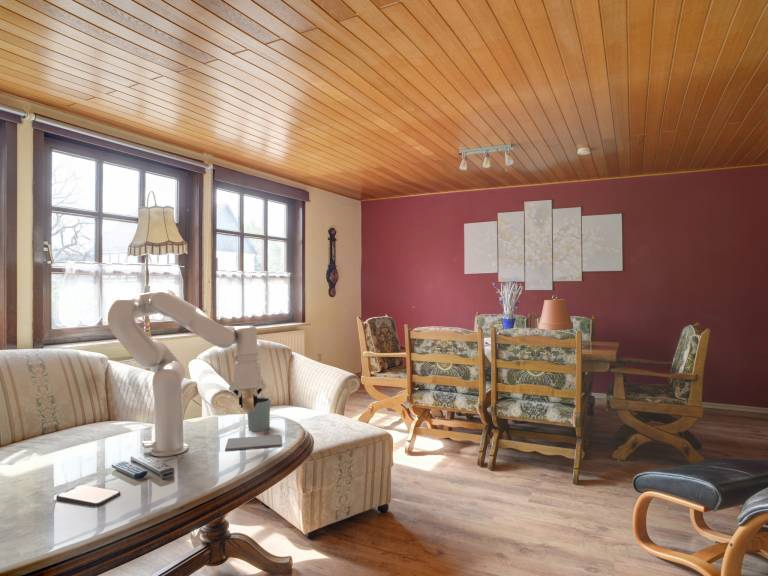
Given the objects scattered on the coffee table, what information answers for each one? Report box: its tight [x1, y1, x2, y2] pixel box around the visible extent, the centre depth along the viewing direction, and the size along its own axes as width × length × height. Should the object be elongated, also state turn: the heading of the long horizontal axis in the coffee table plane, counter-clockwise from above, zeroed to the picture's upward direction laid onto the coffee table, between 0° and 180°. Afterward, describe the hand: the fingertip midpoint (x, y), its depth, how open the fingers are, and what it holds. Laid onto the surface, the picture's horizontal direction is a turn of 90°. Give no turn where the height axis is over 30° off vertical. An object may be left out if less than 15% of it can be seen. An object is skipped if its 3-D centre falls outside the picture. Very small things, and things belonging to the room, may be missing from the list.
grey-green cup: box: [246, 396, 272, 432], centre depth 209 cm, size 10×10×12 cm
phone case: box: [56, 484, 121, 508], centre depth 144 cm, size 9×2×16 cm
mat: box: [224, 434, 282, 452], centre depth 190 cm, size 20×12×1 cm, turn 102°
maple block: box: [242, 389, 254, 413], centre depth 189 cm, size 4×4×10 cm
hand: (248, 405), depth 189 cm, fingers closed on maple block, 4 cm apart
